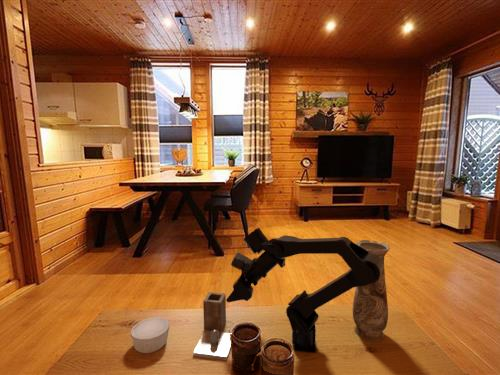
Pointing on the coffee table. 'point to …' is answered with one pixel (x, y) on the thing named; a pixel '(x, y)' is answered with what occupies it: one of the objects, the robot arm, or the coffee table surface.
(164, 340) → the ramekin
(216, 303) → the square pencil cup
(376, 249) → the vase
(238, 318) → the coffee table surface
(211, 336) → the glossy square coaster
